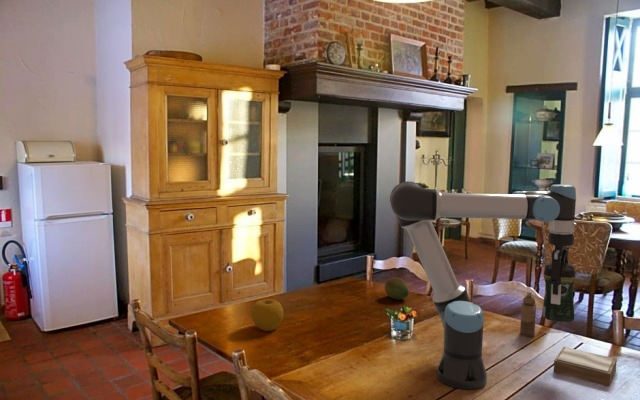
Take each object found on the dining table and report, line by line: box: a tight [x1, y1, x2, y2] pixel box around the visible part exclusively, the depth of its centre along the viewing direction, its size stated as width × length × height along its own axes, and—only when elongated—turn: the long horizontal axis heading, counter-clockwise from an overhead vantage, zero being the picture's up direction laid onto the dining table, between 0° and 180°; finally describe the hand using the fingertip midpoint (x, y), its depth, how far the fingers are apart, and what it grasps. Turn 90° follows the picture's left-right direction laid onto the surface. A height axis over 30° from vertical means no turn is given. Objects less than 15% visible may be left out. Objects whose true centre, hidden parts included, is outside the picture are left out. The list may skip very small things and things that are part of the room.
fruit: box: [384, 276, 409, 301], centre depth 241 cm, size 12×13×10 cm
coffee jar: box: [542, 262, 577, 323], centre depth 166 cm, size 10×8×19 cm
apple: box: [250, 298, 284, 332], centre depth 201 cm, size 13×13×11 cm
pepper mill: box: [519, 291, 537, 338], centre depth 197 cm, size 5×5×17 cm
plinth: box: [553, 346, 617, 387], centre depth 165 cm, size 14×16×4 cm
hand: (558, 300), depth 167 cm, fingers closed on coffee jar, 8 cm apart
